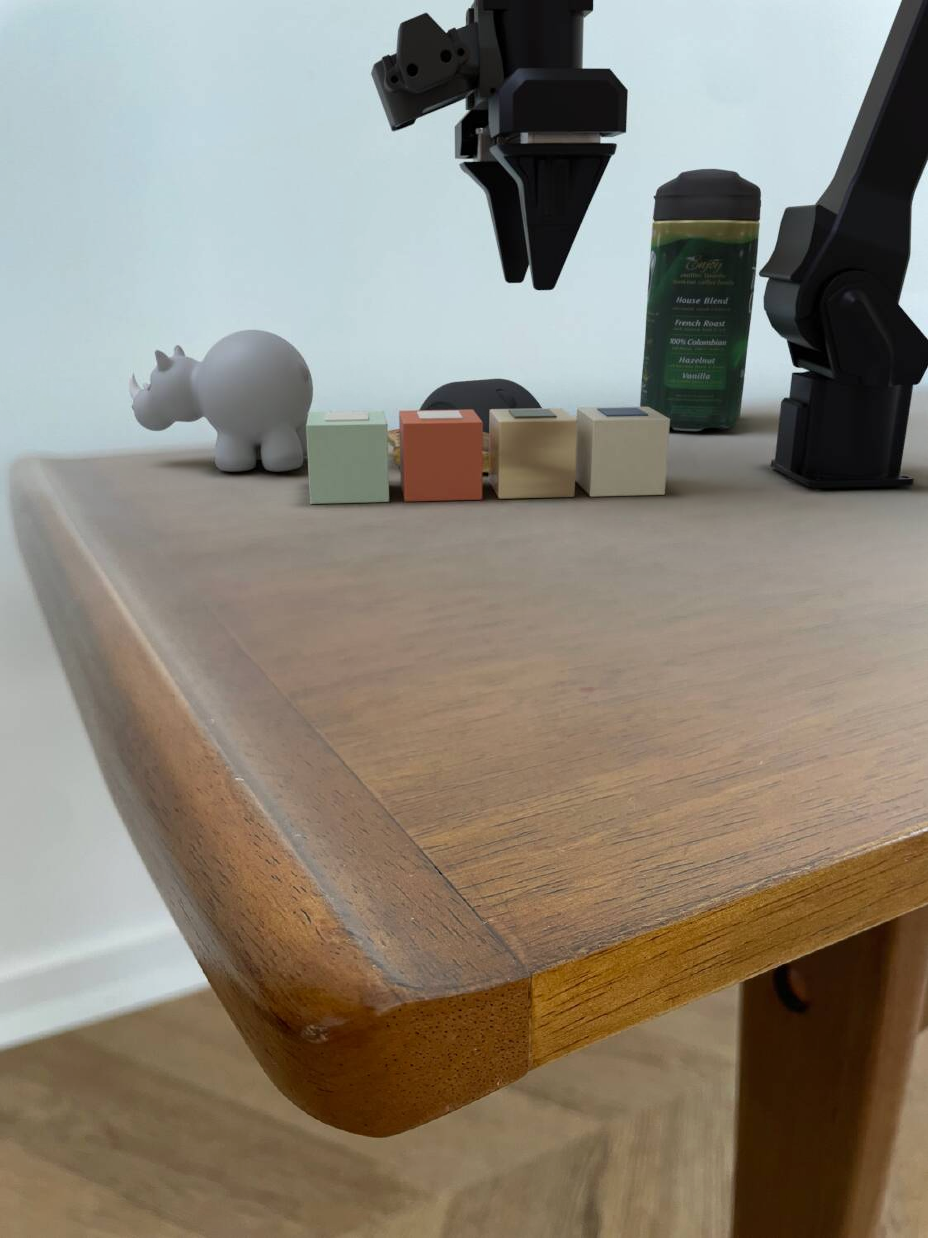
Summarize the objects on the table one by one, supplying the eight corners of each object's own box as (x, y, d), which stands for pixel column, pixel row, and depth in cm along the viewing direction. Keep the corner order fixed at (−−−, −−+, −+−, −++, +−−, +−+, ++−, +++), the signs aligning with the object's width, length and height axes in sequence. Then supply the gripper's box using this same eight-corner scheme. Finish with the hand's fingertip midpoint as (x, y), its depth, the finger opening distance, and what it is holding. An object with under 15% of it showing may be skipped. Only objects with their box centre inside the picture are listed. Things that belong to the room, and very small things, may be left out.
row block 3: (644, 478, 64) (648, 404, 62) (665, 495, 60) (670, 416, 58) (574, 479, 63) (577, 405, 62) (590, 496, 59) (593, 418, 58)
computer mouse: (483, 451, 72) (484, 392, 70) (408, 426, 81) (407, 374, 79) (558, 442, 75) (560, 386, 73) (477, 419, 84) (478, 369, 82)
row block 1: (386, 484, 62) (384, 408, 61) (389, 502, 58) (387, 421, 57) (312, 486, 62) (308, 410, 60) (310, 504, 58) (305, 422, 56)
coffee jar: (742, 436, 77) (768, 164, 71) (635, 431, 79) (651, 165, 72) (739, 415, 86) (762, 171, 80) (643, 411, 88) (657, 173, 81)
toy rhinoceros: (161, 451, 72) (148, 323, 69) (330, 456, 70) (324, 325, 67) (114, 473, 65) (97, 333, 62) (299, 479, 63) (291, 335, 60)
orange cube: (473, 482, 63) (473, 407, 61) (482, 499, 59) (482, 419, 57) (400, 484, 62) (398, 408, 61) (404, 501, 58) (403, 421, 57)
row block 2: (559, 480, 63) (562, 406, 62) (574, 497, 59) (577, 418, 58) (488, 482, 63) (489, 407, 61) (498, 499, 59) (499, 419, 57)
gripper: (369, 9, 62) (380, 282, 68) (387, -78, 45) (400, 298, 50) (551, 11, 64) (547, 279, 69) (637, -73, 46) (623, 293, 52)
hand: (527, 286), depth 60 cm, fingers open, 9 cm apart
